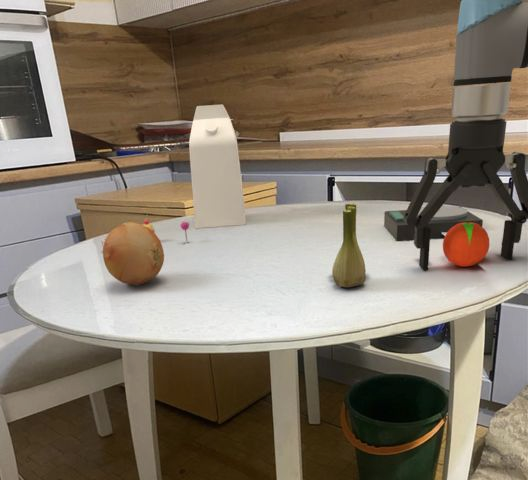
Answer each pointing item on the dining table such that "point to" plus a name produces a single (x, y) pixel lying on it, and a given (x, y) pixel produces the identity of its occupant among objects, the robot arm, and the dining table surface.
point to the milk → (215, 169)
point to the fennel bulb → (349, 253)
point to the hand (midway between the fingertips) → (464, 265)
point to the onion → (133, 253)
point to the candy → (146, 223)
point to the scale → (437, 224)
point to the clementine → (466, 244)
